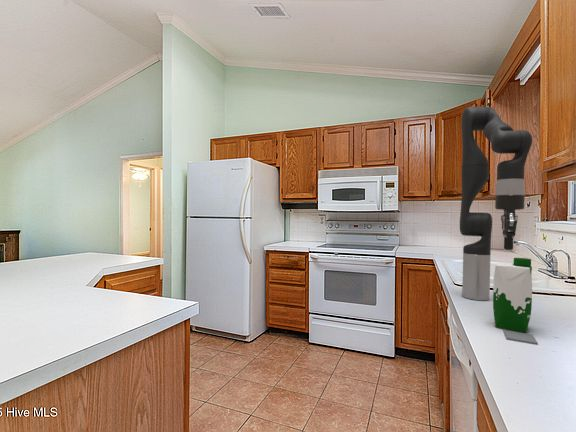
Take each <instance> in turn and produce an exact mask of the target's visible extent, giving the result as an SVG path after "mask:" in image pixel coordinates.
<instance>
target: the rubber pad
mask: <svg viewBox="0 0 576 432" xmlns="http://www.w3.org/2000/svg"><path fill="white" fill-rule="evenodd" d="M503 334H504V336H505V340H508V341H514V342H520V343H525V342H526V343H525V344H533V345H538V343H539V342H538V341H537V339H536V338H535V336H534V334H532V333H531V334H530V333H527V332H526V333H522V332H517V331H512V330H507V329H503Z"/></svg>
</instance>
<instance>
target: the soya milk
mask: <svg viewBox="0 0 576 432" xmlns="http://www.w3.org/2000/svg"><path fill="white" fill-rule="evenodd" d="M532 271H533V267H532V259H531V258H526V257H514V258H513V262H508V263H507V262H497V264H495V268H494V273H493V274H494V275H493V290H492V291H493V293H492V296H493V298H492V299H493V300H492V311H493V317H494V318H493V320H494V325H495V326H494V327H495V328H498V329H503V330H507V331H513V332H519V333H526V334H527V331H528V327H529V323H530V321H531V320H530V319H531V316H532V315H531V314H532V305H533V304H532V303H533V278H532V277H533V276H532Z"/></svg>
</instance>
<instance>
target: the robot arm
mask: <svg viewBox="0 0 576 432" xmlns="http://www.w3.org/2000/svg"><path fill="white" fill-rule="evenodd" d="M460 120H461V142H462V157H461V158H462V159H461V202H460V203H461V204H460V205H461V206H460V216H459V232H460V234H461V235H462V236H464V237H465V236H467V237H481V238H480V239H479V240H478V241H475V242H472V243H469V244H465V245H463V249H462V283H461V284H462V285H461V286H462V289H461V292H462V293H461V295H462V297H463V298H465V299H468V300H474V301H489V300H490V297H491V295H490V292H491V291H490V288H491V287H490V285H491V281H490V280H491V253H492V252H491V251H492V250H491V249H492V248H491V247H492V246H491V245H492V233H493V232H492V231H493V217H492V214H491V213H489V212H470V209H471V206H472V204H473V202H474V200H475V199H476V198H477V196H478V194H479V193H480V192H481V190H482V189H483V188H484V187H485V185H486V184H487V182H488V180H489V176H490V175H489V165H490V163H489V159H488V158H487V157H486V155H485V153H484V152H483V150H482V149H481V148H480V146H479V145H478V143H477V141H476V138H475V135H474V132H475V131H476V132H478V131H480V132H483V134H484V135H483V136H484V137H485V138H486V140H488V141H489V142H490V147H491V150H492V152H494V153H495V154H501V155H502V154H514V155H513V158H512V159H509V160H508V159H507V160H504V161H500V162H498V164H497V167H496V184H495V201H494V202H495V204H494V206H495V207H494V208H495V209H496V210H499V211H500V210H503V215H501V216H500V221H501V230H502V236H503V249H504V250H506V251H507V250H508V251H509V250H510V251H512V250H514V239H515V236H516V230H517V223H518V219H519V217H518V215H516V211H522V210H524V209H525V196H526V195H525V192H526V191H525V189H526V186H525V166H526V162H527V159H528V155H529V153H530V149H531V147H532V144H533V136H532V134H531V133H530V132H529V131H528V130H522V129H521V130H514V129H513V127H512V126H511V125H509V124H508V123H506V122H505V121H503V120H502V118H501V116H500V115H499V114H498V112H497V111H496V110H495V109H494V108H493V107H491V106H488V105H487V106H468V107H465V108H464V109H463V111H462V113H461V119H460Z"/></svg>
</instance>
